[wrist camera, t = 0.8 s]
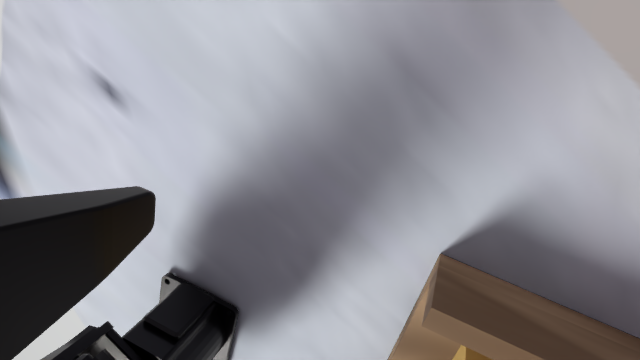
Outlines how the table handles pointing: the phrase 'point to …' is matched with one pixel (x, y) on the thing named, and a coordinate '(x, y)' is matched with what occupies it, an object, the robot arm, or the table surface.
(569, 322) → the walnut cubby
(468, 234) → the table surface
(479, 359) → the ochre cube
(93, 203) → the robot arm
